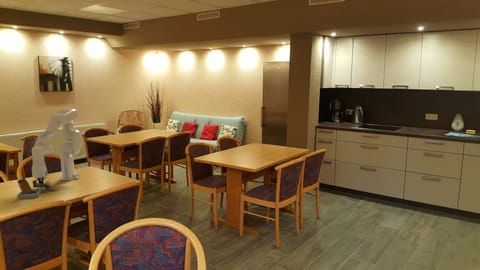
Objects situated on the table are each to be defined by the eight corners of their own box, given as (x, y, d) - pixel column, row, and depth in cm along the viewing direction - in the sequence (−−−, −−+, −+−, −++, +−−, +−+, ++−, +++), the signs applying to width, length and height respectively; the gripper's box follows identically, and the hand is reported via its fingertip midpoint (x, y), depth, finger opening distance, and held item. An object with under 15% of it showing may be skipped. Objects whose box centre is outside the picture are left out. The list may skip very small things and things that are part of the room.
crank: (52, 186, 272) (51, 179, 271) (49, 188, 267) (48, 181, 266) (35, 186, 272) (34, 179, 271) (32, 188, 267) (31, 181, 266)
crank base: (58, 188, 274) (57, 184, 274) (56, 190, 269) (56, 187, 268) (29, 190, 269) (28, 186, 268) (26, 192, 263) (26, 189, 262)
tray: (41, 192, 264) (41, 188, 264) (37, 197, 253) (37, 193, 253) (22, 193, 261) (22, 190, 260) (17, 199, 250) (17, 195, 249)
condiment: (22, 194, 257) (14, 181, 252) (34, 188, 262) (27, 175, 258) (25, 197, 252) (17, 183, 247) (37, 191, 257) (29, 177, 252)
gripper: (26, 163, 266) (29, 186, 270) (43, 164, 263) (46, 187, 266) (34, 160, 273) (36, 183, 277) (50, 161, 270) (53, 184, 274)
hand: (41, 185), depth 272 cm, fingers closed
